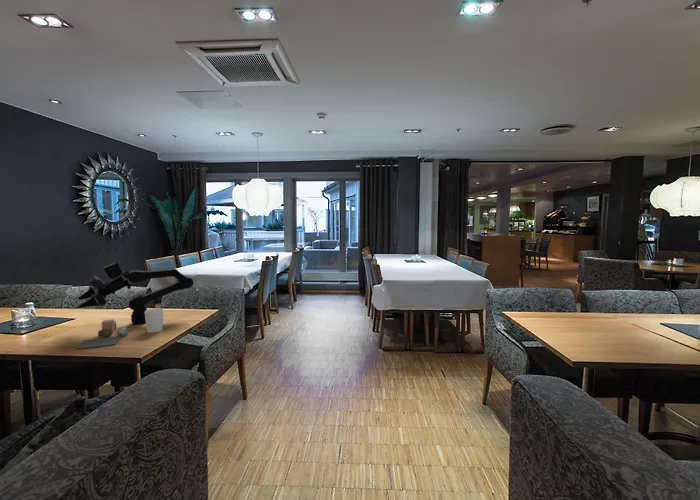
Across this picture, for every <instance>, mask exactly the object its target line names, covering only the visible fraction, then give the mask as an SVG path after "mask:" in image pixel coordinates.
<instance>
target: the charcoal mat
mask: <svg viewBox="0 0 700 500" xmlns="http://www.w3.org/2000/svg"><path fill="white" fill-rule="evenodd" d="M121 339H122V337H121V336H118V335H117V336H110V337H109V338H100V339H99V338H92V339H85V340H82V342H81V343H80V344H79V345H78V346H77V347H76V350H77V351H78V350H84V349H86V350H87V349H94V348H102V347H110V346H116V345H117V344H118V343H119V341H120V340H121Z"/></svg>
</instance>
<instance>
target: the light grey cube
mask: <svg viewBox="0 0 700 500" xmlns="http://www.w3.org/2000/svg"><path fill="white" fill-rule="evenodd" d="M118 336H121V338H123V337H127V336H128V327H126V326H125V327H119V328H117V337H118Z"/></svg>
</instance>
